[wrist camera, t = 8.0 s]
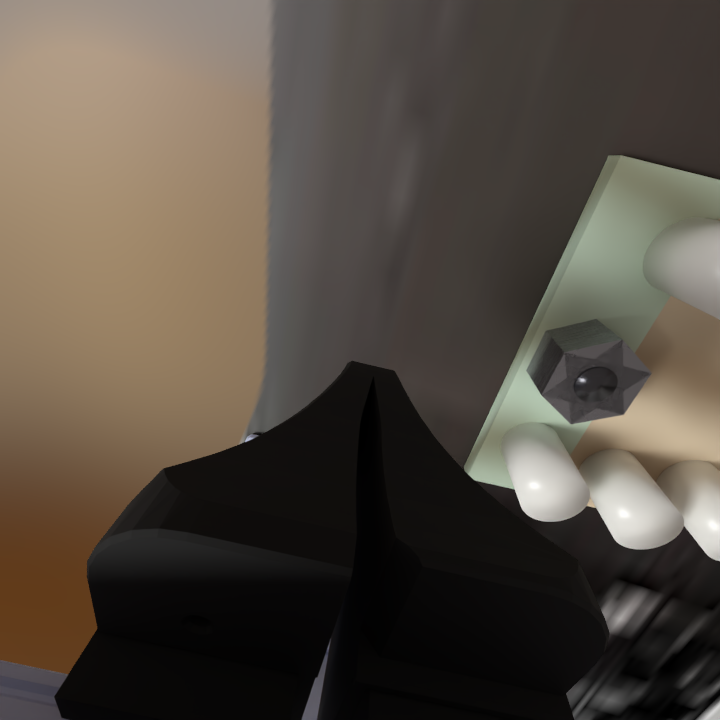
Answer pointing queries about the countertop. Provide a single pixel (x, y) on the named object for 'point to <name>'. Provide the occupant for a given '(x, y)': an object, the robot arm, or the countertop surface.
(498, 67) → the countertop surface
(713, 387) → the board
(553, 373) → the nut
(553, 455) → the spacers
